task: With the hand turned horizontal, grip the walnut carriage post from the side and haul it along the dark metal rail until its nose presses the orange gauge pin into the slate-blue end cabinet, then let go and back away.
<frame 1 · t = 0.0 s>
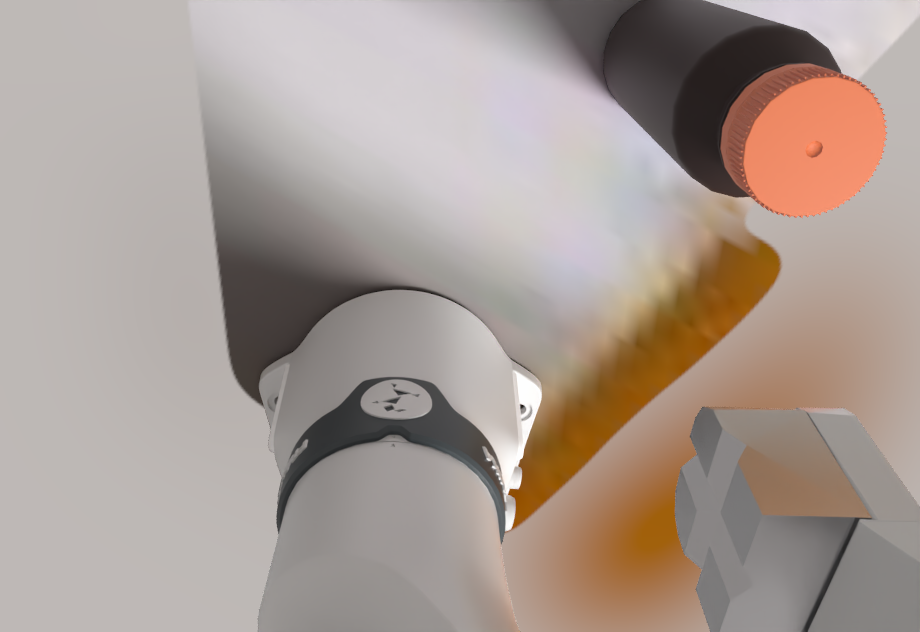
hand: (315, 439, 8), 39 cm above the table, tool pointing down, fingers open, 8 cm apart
vinegar: (660, 56, 45), on the table
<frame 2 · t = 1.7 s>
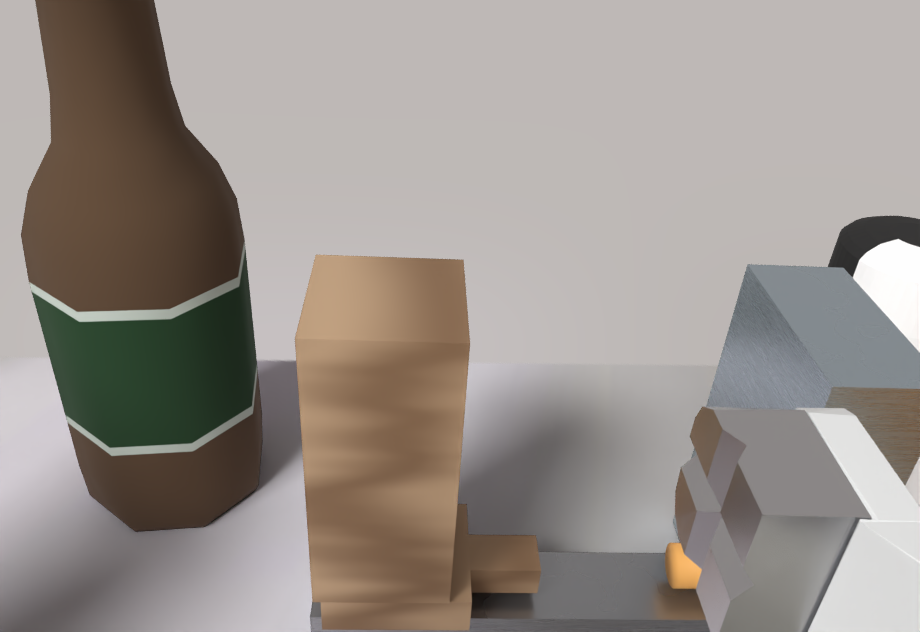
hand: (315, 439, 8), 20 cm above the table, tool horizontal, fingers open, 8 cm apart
carriage: (435, 455, 26), point 8 cm above the table, slide at -5.0 cm
medicine bottle: (831, 452, 40), on the table
rail and cabinet: (514, 618, 30), on the table
gauge pin: (738, 566, 29), point 3 cm above the table, slide at 0.0 cm
beer bottle: (182, 476, 36), on the table
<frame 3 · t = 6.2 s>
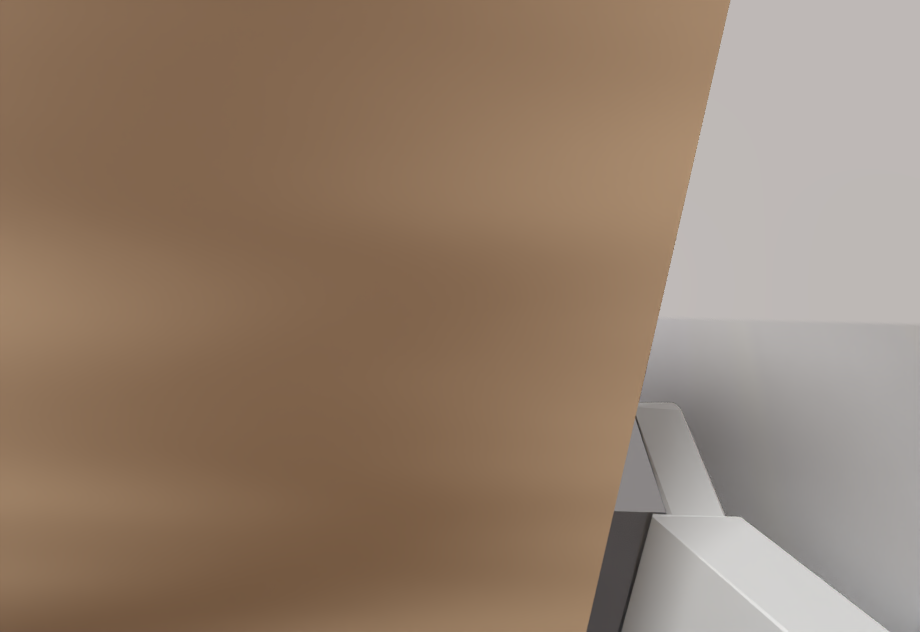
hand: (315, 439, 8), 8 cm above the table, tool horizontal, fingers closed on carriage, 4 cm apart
carriage: (471, 485, 8), point 8 cm above the table, slide at -5.0 cm, touching gripper
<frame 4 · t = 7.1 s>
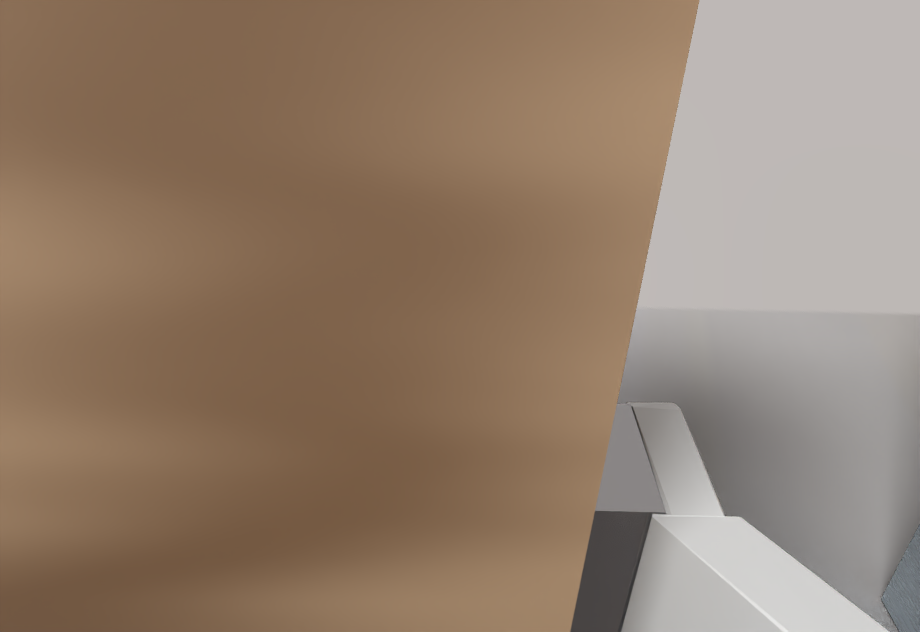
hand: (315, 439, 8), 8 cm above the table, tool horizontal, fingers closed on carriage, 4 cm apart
carriage: (470, 453, 8), point 8 cm above the table, slide at -3.6 cm, touching gripper
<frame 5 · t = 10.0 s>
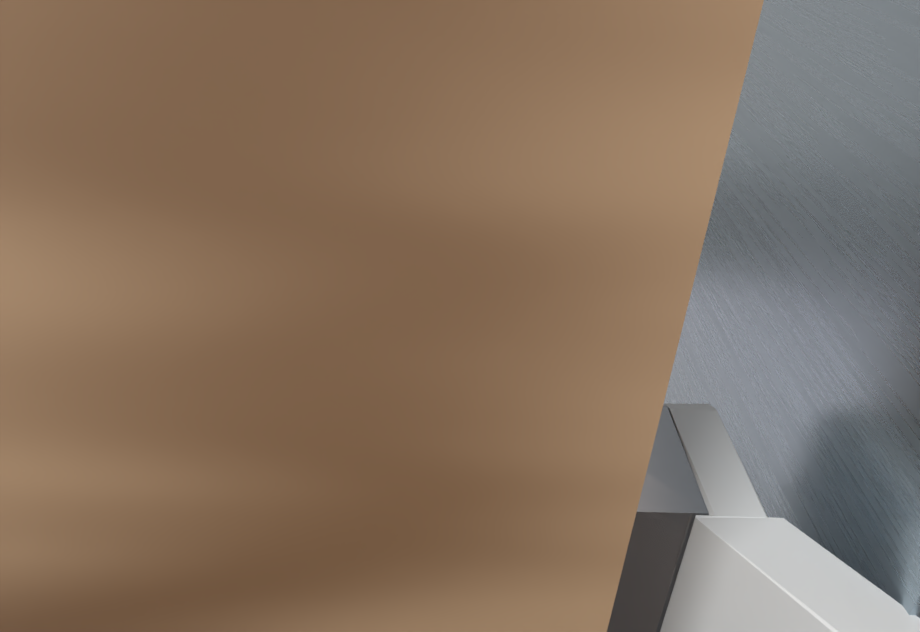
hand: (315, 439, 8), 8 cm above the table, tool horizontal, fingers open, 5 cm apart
carriage: (490, 473, 8), point 8 cm above the table, slide at 3.0 cm, touching gauge pin
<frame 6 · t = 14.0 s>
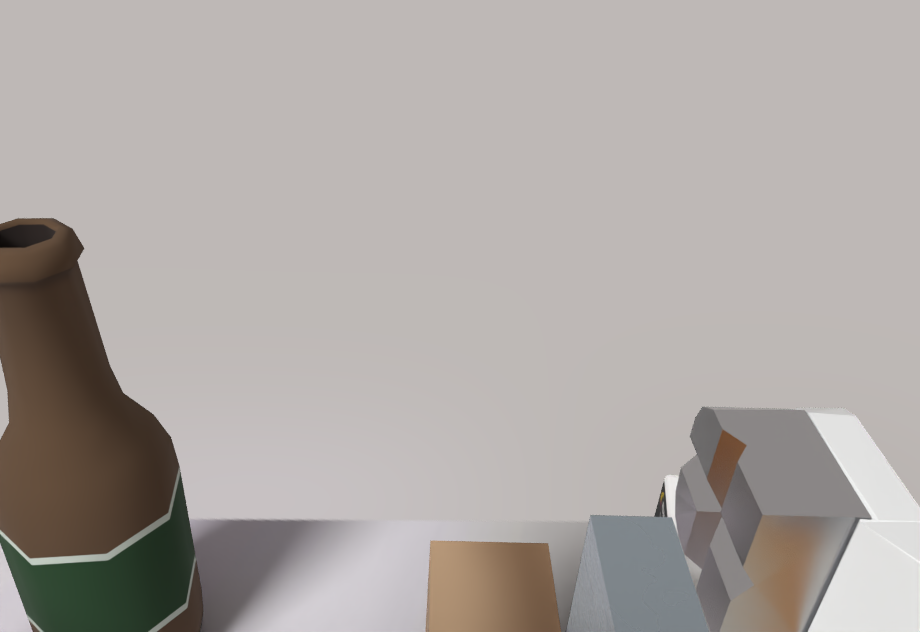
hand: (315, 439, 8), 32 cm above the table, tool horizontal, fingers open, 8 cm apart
medicine bottle: (707, 617, 45), on the table
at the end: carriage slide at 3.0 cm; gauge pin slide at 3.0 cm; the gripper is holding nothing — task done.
